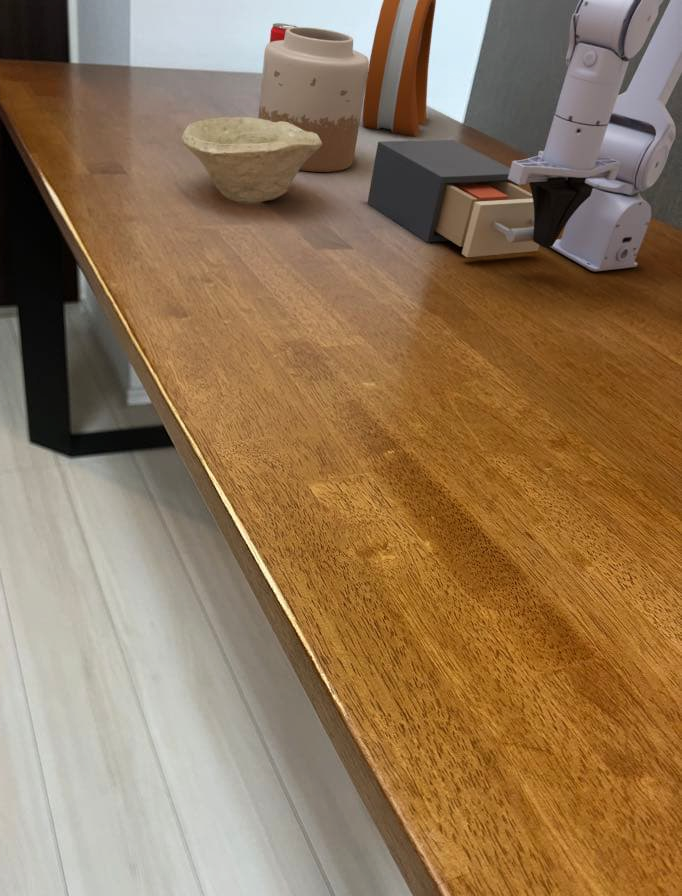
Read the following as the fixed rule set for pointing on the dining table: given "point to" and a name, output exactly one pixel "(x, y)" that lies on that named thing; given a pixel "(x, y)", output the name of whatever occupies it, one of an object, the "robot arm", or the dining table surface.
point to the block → (483, 192)
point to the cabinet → (425, 180)
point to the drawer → (488, 220)
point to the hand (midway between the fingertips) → (542, 243)
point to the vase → (316, 91)
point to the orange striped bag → (399, 67)
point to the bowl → (250, 155)
